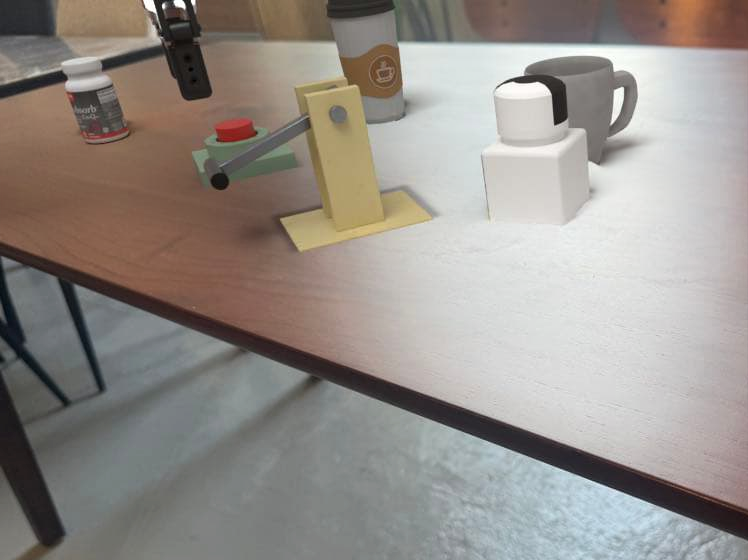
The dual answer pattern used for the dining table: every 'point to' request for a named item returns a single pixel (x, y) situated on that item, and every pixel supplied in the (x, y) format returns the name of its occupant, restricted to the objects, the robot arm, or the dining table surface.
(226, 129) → the button
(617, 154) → the dining table surface
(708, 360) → the dining table surface
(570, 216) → the medicine bottle
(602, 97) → the mug
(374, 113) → the coffee cup
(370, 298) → the dining table surface
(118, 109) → the pill bottle
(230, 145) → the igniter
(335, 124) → the lever bracket
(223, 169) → the lever
